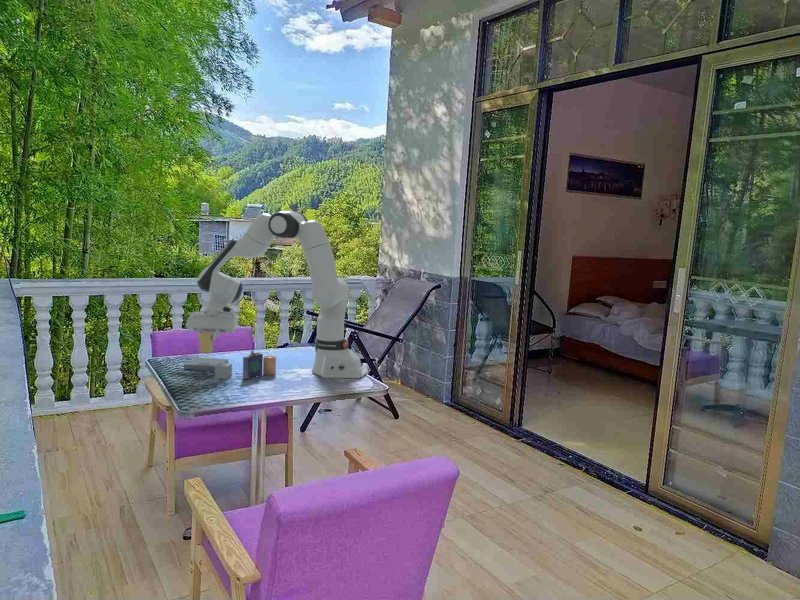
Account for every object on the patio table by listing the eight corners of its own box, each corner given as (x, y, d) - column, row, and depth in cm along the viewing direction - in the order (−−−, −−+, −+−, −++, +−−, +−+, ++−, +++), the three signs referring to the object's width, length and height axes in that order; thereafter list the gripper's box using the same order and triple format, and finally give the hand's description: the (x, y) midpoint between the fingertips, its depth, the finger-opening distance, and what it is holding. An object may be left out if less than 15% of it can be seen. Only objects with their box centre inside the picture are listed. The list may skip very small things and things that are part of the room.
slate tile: (228, 363, 236) (228, 359, 236) (217, 371, 224) (217, 366, 224) (196, 361, 237) (196, 357, 236) (183, 369, 225) (183, 364, 224)
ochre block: (212, 351, 231) (212, 332, 230) (209, 353, 227) (209, 334, 226) (203, 350, 232) (203, 331, 230) (199, 352, 228) (199, 333, 226)
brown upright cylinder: (277, 372, 226) (277, 355, 225) (273, 375, 221) (273, 358, 220) (265, 371, 227) (265, 355, 226) (261, 375, 222) (261, 358, 221)
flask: (245, 380, 214) (245, 353, 212) (240, 378, 215) (240, 352, 214) (263, 375, 221) (264, 349, 220) (258, 374, 223) (259, 348, 222)
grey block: (231, 375, 219) (231, 363, 219) (227, 379, 214) (227, 366, 214) (219, 374, 220) (219, 362, 219) (214, 378, 215) (214, 365, 214)
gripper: (189, 306, 235) (179, 333, 227) (236, 309, 234) (228, 336, 226) (193, 315, 240) (183, 341, 232) (240, 317, 239) (231, 344, 231)
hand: (206, 339), depth 229 cm, fingers closed on ochre block, 4 cm apart
